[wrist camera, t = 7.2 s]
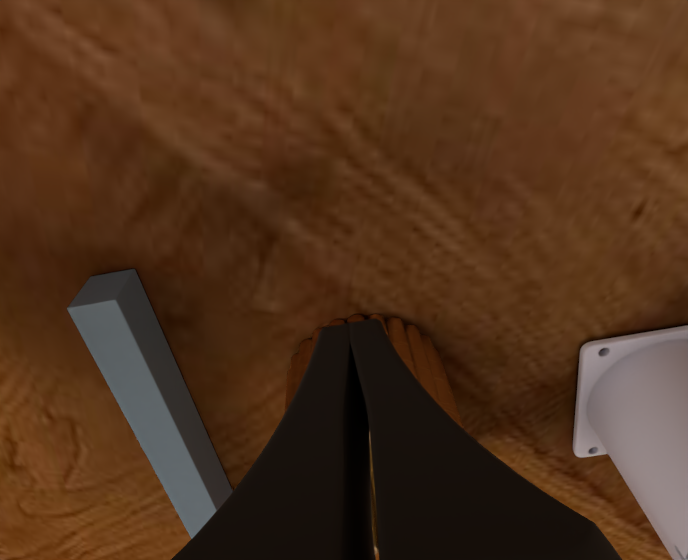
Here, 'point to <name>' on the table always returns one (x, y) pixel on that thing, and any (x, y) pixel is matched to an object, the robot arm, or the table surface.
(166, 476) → the rectangular block
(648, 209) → the table surface
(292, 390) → the pot
